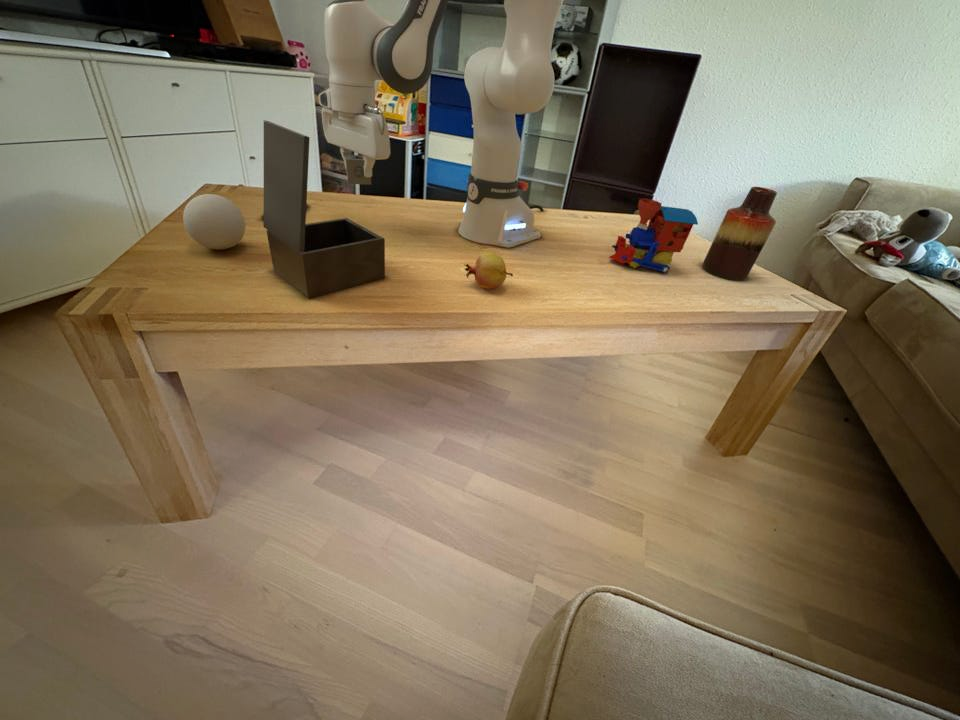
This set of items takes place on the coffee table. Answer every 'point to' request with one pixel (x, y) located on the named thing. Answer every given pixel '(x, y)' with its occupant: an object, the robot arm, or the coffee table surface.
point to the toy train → (655, 236)
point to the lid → (285, 183)
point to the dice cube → (356, 170)
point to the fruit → (488, 270)
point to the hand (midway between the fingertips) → (358, 173)
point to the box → (330, 257)
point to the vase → (741, 236)
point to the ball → (214, 221)
